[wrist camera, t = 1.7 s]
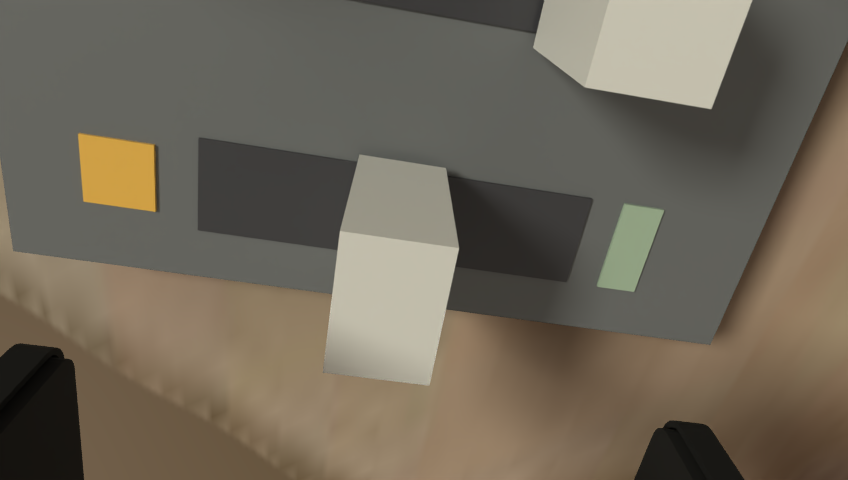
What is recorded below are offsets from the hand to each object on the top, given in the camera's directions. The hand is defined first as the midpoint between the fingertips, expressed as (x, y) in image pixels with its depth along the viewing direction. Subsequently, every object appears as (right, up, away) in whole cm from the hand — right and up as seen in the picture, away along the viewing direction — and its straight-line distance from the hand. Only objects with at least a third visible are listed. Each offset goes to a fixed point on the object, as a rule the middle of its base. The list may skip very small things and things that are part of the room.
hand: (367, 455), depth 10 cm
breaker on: (+5, +10, +5) cm, 12 cm away
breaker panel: (+1, +9, +9) cm, 13 cm away
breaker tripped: (0, +4, +7) cm, 9 cm away
